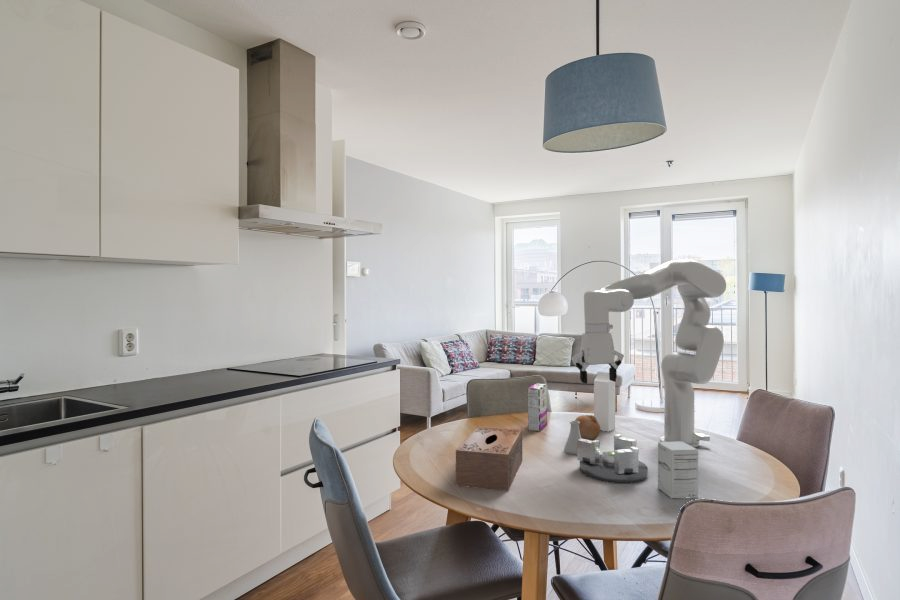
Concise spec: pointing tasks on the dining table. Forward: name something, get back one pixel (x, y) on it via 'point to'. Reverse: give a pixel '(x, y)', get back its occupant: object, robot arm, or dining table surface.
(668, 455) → the supplement box
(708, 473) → the dining table surface
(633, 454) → the knob
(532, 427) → the candy bar box
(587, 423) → the onion
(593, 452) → the knob front
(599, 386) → the milk
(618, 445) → the knob
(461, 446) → the tissue box cover
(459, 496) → the dining table surface
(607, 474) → the levelling plate
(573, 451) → the flask
